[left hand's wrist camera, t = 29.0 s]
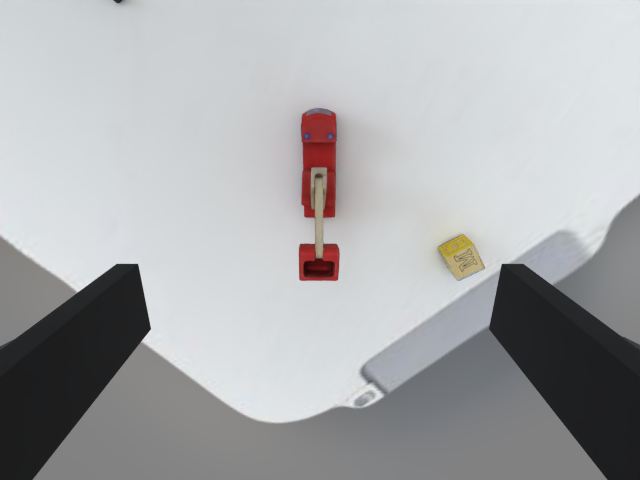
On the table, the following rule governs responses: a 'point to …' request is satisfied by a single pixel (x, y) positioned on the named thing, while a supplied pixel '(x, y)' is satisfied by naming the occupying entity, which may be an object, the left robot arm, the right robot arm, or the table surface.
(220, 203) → the table surface
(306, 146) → the toy fire truck
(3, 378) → the left robot arm
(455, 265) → the alphabet block
